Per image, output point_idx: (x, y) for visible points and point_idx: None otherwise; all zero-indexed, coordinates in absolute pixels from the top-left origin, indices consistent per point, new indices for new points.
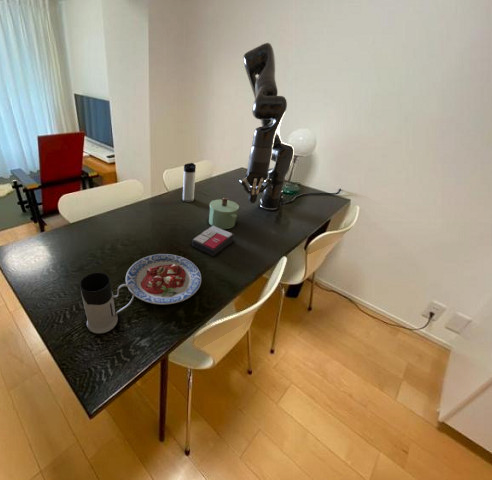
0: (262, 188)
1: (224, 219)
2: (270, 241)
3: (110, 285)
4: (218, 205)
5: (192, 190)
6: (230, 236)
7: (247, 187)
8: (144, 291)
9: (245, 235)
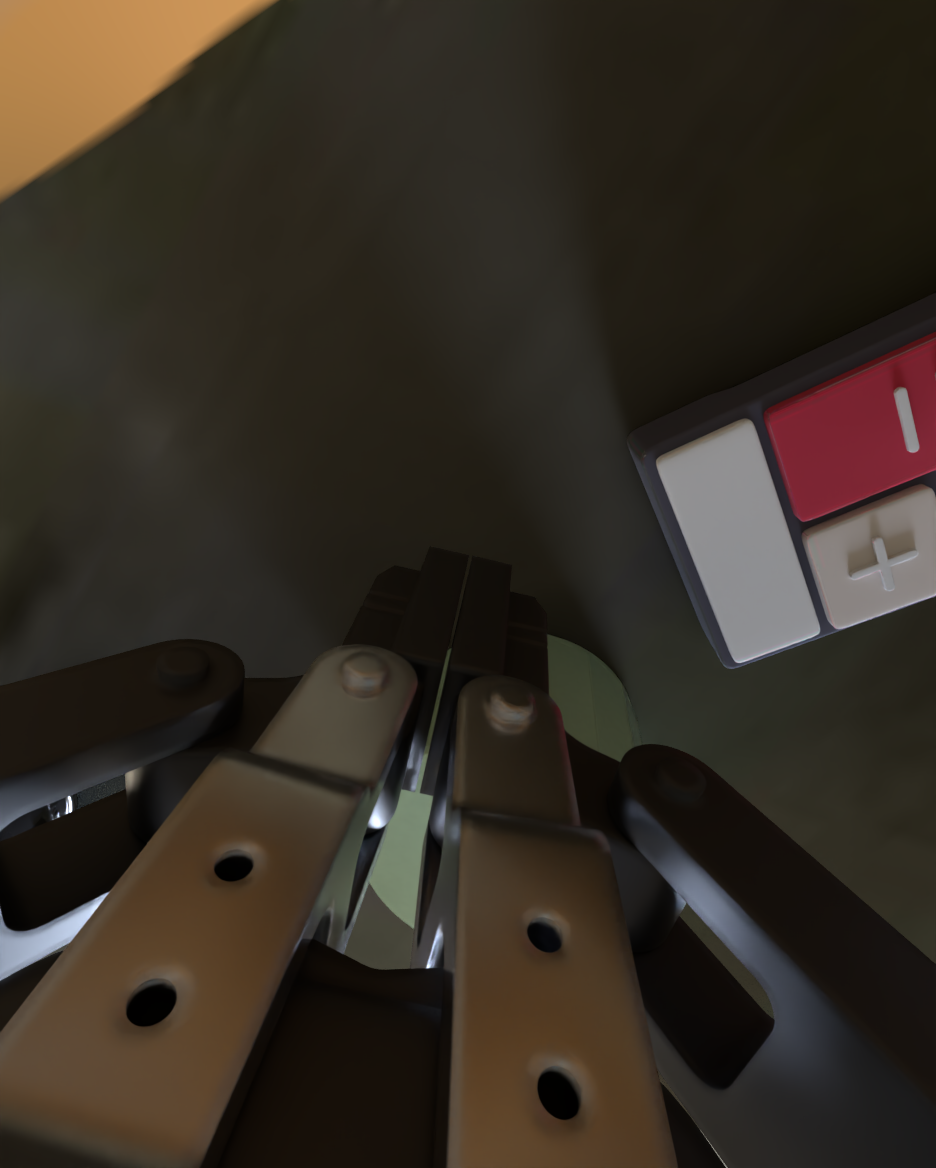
0: (108, 748)
1: (578, 702)
2: (263, 297)
3: None
4: None
5: None
6: (703, 432)
7: (830, 986)
8: None
9: (443, 482)
